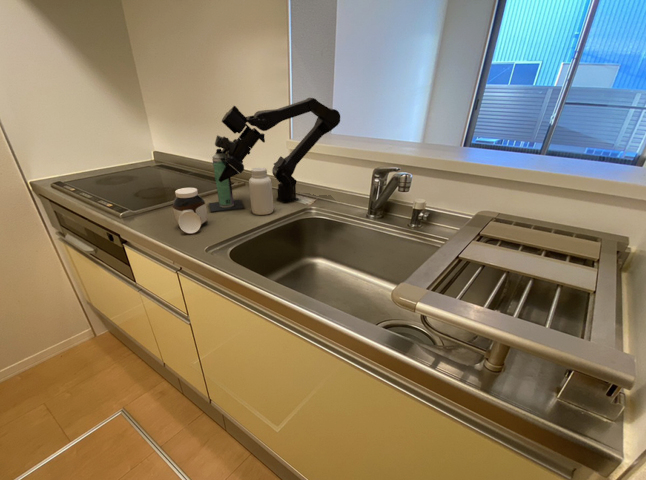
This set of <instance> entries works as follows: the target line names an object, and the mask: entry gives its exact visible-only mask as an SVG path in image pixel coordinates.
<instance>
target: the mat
mask: <svg viewBox="0 0 646 480" xmlns="http://www.w3.org/2000/svg"><path fill="white" fill-rule="evenodd" d="M233 201H234V206H232V207H227V208H223V207H220V205H219V201H216V202H209V203H208V204H209V209H210V213H219V212H228V211H235V210H244V209H245V208H244V205H243V204H242V201H241V200H240V199H236V200H234V199H233Z"/></svg>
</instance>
